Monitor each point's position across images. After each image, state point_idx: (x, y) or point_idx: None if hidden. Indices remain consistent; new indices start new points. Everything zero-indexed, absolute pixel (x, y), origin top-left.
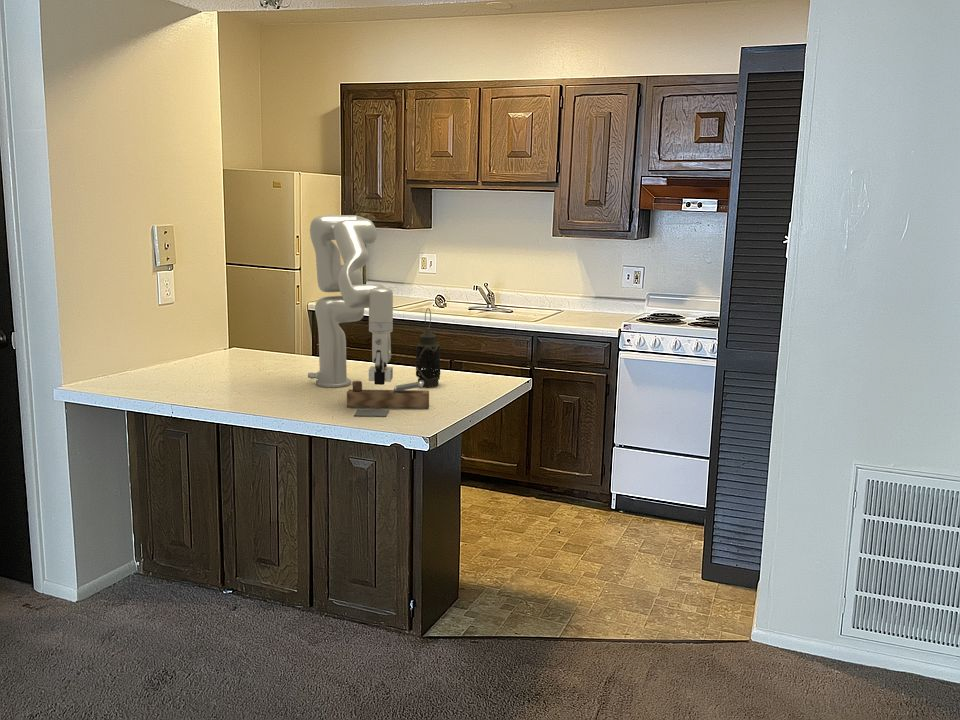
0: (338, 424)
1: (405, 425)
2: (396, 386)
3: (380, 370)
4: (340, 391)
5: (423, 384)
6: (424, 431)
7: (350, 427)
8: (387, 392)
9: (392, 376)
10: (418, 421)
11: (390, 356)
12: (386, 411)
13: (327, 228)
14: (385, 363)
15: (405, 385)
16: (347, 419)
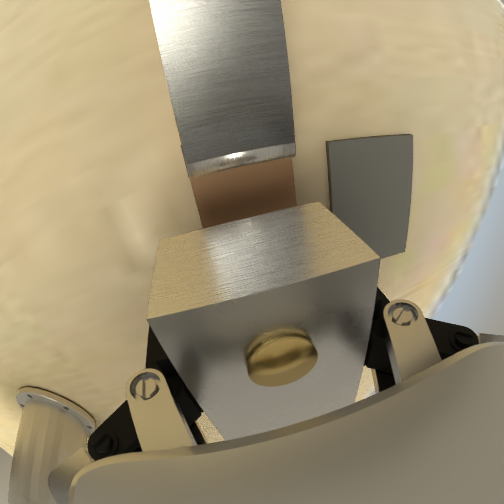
0: (460, 252)
1: (474, 61)
2: (223, 157)
3: (437, 325)
4: (97, 391)
5: None
6: (496, 19)
7: (483, 214)
8: (278, 197)
9: (170, 245)
10: (435, 14)
11: (164, 495)
12: (353, 148)
13: None
14: (182, 416)
15: (235, 70)
16: (426, 252)
